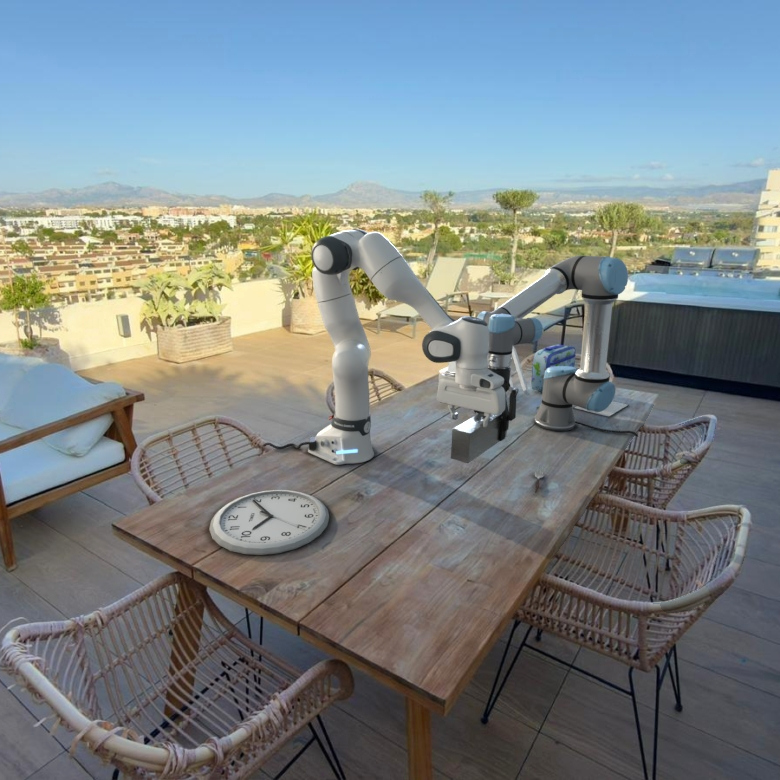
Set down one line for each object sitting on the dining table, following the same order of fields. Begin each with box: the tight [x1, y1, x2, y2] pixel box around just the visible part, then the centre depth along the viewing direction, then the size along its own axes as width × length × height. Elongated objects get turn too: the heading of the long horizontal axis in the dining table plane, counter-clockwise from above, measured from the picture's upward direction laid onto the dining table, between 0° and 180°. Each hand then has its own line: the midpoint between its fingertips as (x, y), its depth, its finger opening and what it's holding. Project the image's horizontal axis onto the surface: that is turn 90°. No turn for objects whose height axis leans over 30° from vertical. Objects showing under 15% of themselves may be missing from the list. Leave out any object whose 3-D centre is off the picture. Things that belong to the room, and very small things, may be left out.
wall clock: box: [209, 489, 330, 556], centre depth 135 cm, size 30×2×30 cm
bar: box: [450, 412, 508, 464], centre depth 157 cm, size 25×6×9 cm, turn 143°
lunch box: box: [530, 344, 577, 392], centre depth 247 cm, size 26×11×21 cm, turn 134°
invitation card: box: [573, 400, 629, 418], centre depth 226 cm, size 21×1×15 cm
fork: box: [534, 465, 545, 494], centre depth 157 cm, size 3×16×2 cm, turn 160°
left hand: (468, 422), depth 149 cm, fingers open, 8 cm apart
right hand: (492, 436), depth 165 cm, fingers closed on bar, 6 cm apart
